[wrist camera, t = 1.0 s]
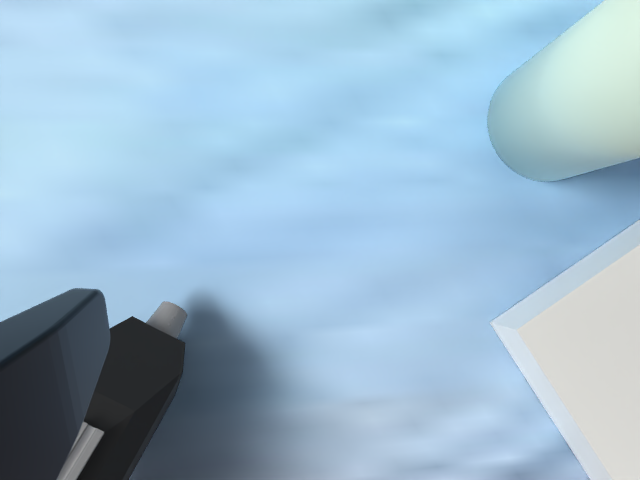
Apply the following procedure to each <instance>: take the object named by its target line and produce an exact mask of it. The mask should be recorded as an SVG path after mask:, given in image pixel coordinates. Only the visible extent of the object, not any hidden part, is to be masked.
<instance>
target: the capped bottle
mask: <svg viewBox="0 0 640 480" xmlns="http://www.w3.org/2000/svg"><path fill="white" fill-rule="evenodd" d="M487 125H488V132H489V136H490V140H491V142H492V145H493V147H494V149H495V151H496V153H497V154H498V156H499V157H500V158H501V160H502V161H503V162H504V163H505V164H506V165H507V166H508V167H509V168H510V169H512V170H513V171H514V172H516V173H517V174H519V175H521V176H523V177H525V178H528V179H531V180H535V181H541V182H552V181H558V180H562V179H566V178H570V177H573V176H577V175H580V174H584V173H587V172H591V171H595V170H598V169H602V168H605V167H609V166H612V165H616V164H619V163H623V162H627V161H630V160H634V159H637V158H640V0H604V1H603V2H602V3H601V4H599V5H598V6H597V7H595V8H594V9H593V10H592V11H590V12H589V13H588V14H586V15H585V16H584V17H583V18H581V19H580V20H579V21H578V22H576V23H575V24H574V25H572V26H571V27H570V28H569V29H567V30H566V31H565V32H563V33H562V34H561V35H560V36H558V37H557V38H556V39H555V40H553V41H552V42H551V43H549V44H548V45H547V46H546V47H544V48H543V49H542V50H540V51H539V52H538V53H537V54H535V55H534V56H533V57H532V58H530V59H529V60H528V61H526V62H525V63H524V64H523V65H521V66H520V67H519V68H517V69H516V70H515V71H514V72H512V73H511V74H510V75H509V76H507V77H506V78H505V79H504V80H503V81H502V82H501V84H500V85H499V86H498V87H497V89H496V91H495V92H494V94H493V96H492V99H491V101H490V105H489V109H488V116H487Z"/></svg>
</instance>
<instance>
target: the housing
mask: <svg viewBox="0 0 640 480" xmlns="http://www.w3.org/2000/svg"><path fill="white" fill-rule="evenodd" d="M490 324H491V325H492V327H493V329H494V330H495V332H496V333H497V335H498V336H499V338H500V339H501V341H502V343H503V344H504V346H505V347H506V349H507V350H508V352H509V353H510V355H511V357H512V358H513V360H514V361H515V363H516V364H517V366H518V367H519V369H520V371H521V372H522V374H523V375H524V377H525V378H526V380H527V381H528V383H529V385H530V386H531V388H532V389H533V391H534V392H535V394H536V396H537V397H538V399H539V400H540V402H541V403H542V405H543V406H544V408H545V410H546V411H547V413H548V414H549V416H550V417H551V419H552V420H553V422H554V424H555V425H556V427H557V428H558V430H559V431H560V433H561V434H562V436H563V438H564V439H565V441H566V442H567V444H568V445H569V447H570V448H571V450H572V452H573V453H574V455H575V456H576V458H577V459H578V461H579V463H580V464H581V466H582V467H583V469H584V470H585V472H586V473H587V475H588V477H589V478H590V480H640V220H638V221H637V222H635V223H634V224H632V225H631V226H629V227H628V228H627V229H625V230H624V231H622V232H621V233H619V234H618V235H616V236H615V237H613V238H612V239H610V240H609V241H608V242H606V243H605V244H603V245H602V246H600V247H599V248H597V249H596V250H594V251H593V252H592V253H590V254H589V255H587V256H586V257H584V258H583V259H581V260H580V261H578V262H577V263H576V264H574V265H573V266H571V267H570V268H568V269H567V270H565V271H564V272H562V273H561V274H559V275H558V276H557V277H555V278H554V279H552V280H551V281H549V282H548V283H546V284H545V285H543V286H542V287H541V288H539V289H538V290H536V291H535V292H533V293H532V294H530V295H529V296H527V297H526V298H525V299H523V300H522V301H520V302H519V303H517V304H516V305H514V306H513V307H511V308H510V309H508V310H507V311H506V312H504V313H503V314H501V315H500V316H498V317H497V318H495V319H494V320H492V321H491V322H490Z"/></svg>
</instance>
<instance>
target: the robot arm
mask: <svg viewBox="0 0 640 480" xmlns="http://www.w3.org/2000/svg"><path fill="white" fill-rule="evenodd" d="M109 345H110V329H109V323H108V316H107V309H106V303H105V298H104V295H103V293H102V292H101V291H100V290H98V289H83V288H75V289H71V290H69V291H67V292H65V293H63V294H60V295H58V296H56V297H54V298H52V299H50V300H47V301H45V302H43V303H41V304H39V305H37V306H34V307H32V308H30V309H28V310H26V311H24V312H21V313H19V314H17V315H15V316H13V317H11V318H8V319H6V320H4V321H2V322H0V480H57V478H58V476H59V474H60V472H61V470H62V468H63V466H64V463H65V461H66V459H67V457H68V455H69V453H70V451H71V449H72V447H73V445H74V443H75V440H76V438H77V436H78V434H79V431H80V429H81V426H82V423H83V421H84V418H85V415H86V412H87V409H88V407H89V404H90V401H91V398H92V395H93V392H94V390H95V387H96V384H97V381H98V378H99V375H100V373H101V370H102V367H103V364H104V361H105V358H106V355H107V353H108V350H109Z"/></svg>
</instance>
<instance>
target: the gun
mask: <svg viewBox="0 0 640 480" xmlns="http://www.w3.org/2000/svg"><path fill="white" fill-rule="evenodd" d="M186 317H187V313H186V312H185V311H184V310H183V309H182V308H180V307H179V306H177V305H175V304H173V303H170V302H163V303H162V304H161V305H160V306H159V308H158V309H157V310H156V311H155V313H154V314H153V315H152V316H151V317H150V319H149V320H148V321H147V322H146V323H145V322H143V321H141V320H139V319H137V318H135V317H133V316H132V317H130V318H128V319H127V320H125V321H123V322H121V323H119V324H117V325H116V326H114V327H112V328H110V345H109V350H108V353H107V355H106V358H105V361H104V364H103V367H102V370H101V373H100V375H99V378H98V381H97V384H96V387H95V390H94V392H93V395H92V398H91V401H90V404H89V407H88V409H87V412H86V415H85V418H84V421H83V423H82V426H81V429H80V431H79V434H78V436H77V438H76V440H75V443H74V445H73V447H72V449H71V451H70V453H69V455H68V457H67V459H66V461H65V463H64V466H63V468H62V470H61V472H60V474H59V476H58V478H57V480H128V479H129V478H130V476H131V474H132V472H133V470H134V469H135V467H136V465H137V463H138V461H139V460H140V458H141V456H142V454H143V452H144V450H145V449H146V447H147V445H148V443H149V441H150V440H151V438H152V436H153V434H154V432H155V431H156V429H157V427H158V425H159V423H160V421H161V420H162V418H163V416H164V414H165V412H166V411H167V409H168V407H169V405H170V403H171V402H172V400H173V398H174V396H175V393H176V390H177V387H178V384H179V381H180V378H181V375H182V372H183V362H184V351H185V343H184V342H182V341H180V340H178V339H177V338H178V336H179V333H180V331H181V329H182V326H183V324H184V322H185V319H186Z"/></svg>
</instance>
